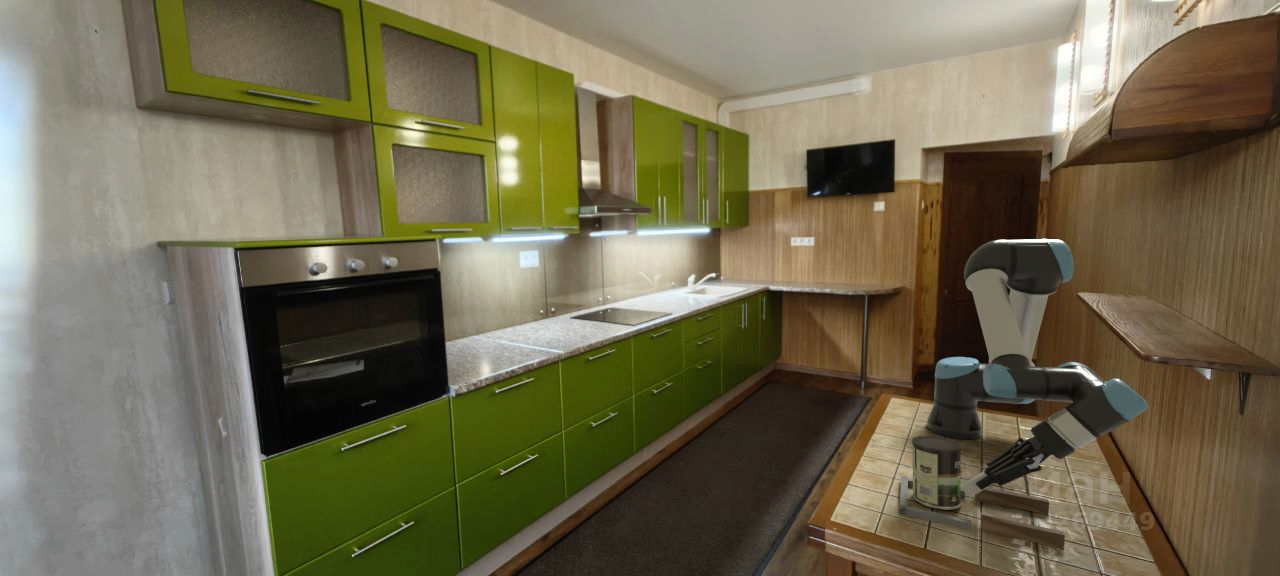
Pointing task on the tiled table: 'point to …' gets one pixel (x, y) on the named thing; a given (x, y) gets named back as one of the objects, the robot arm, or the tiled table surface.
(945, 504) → the coffee can
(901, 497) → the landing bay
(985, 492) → the chute
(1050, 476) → the tiled table surface
